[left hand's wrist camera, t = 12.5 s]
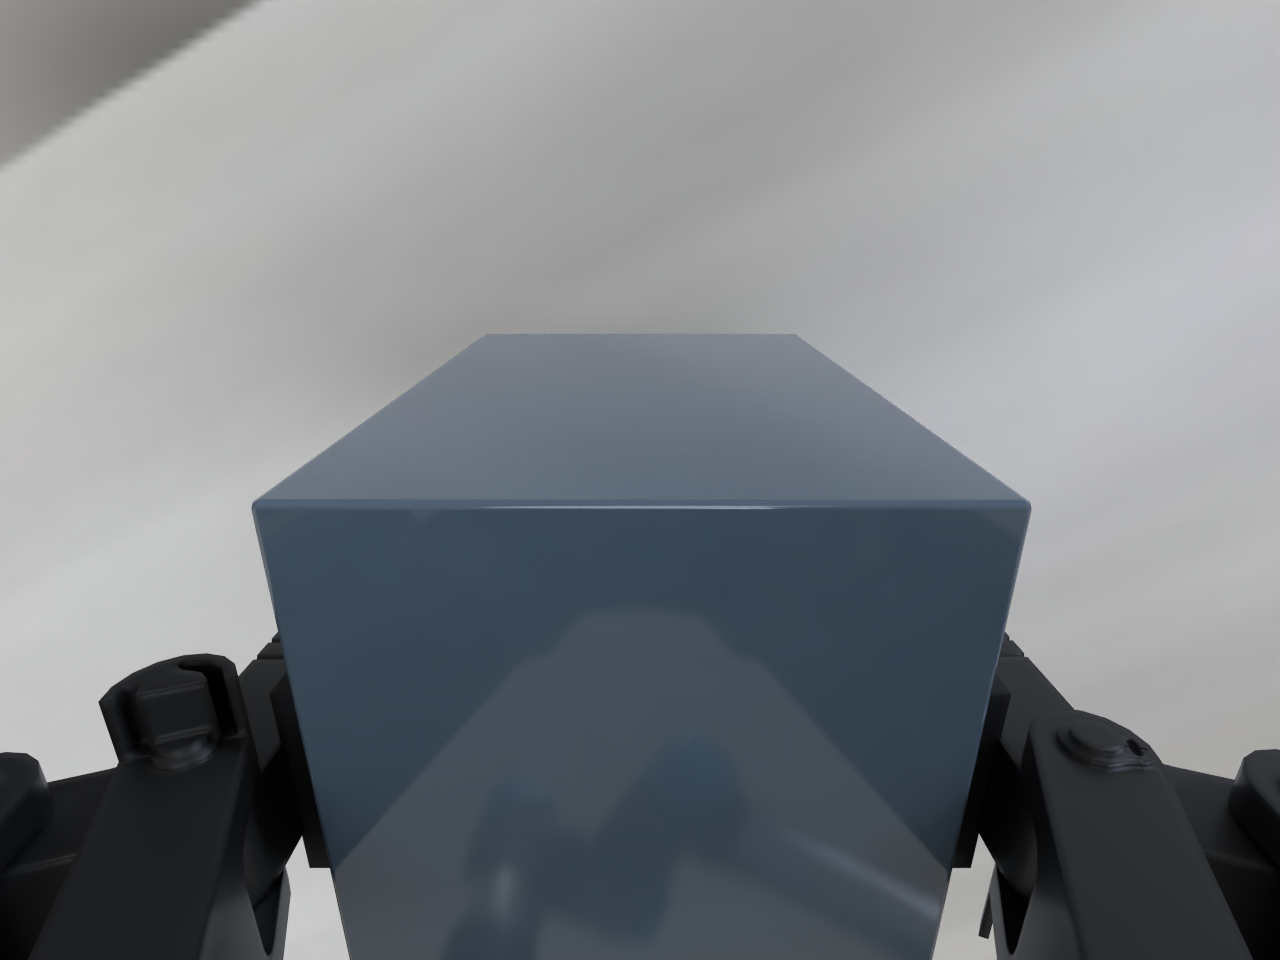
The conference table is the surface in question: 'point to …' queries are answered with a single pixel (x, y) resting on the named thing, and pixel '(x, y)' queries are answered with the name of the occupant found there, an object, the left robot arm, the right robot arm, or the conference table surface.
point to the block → (641, 654)
